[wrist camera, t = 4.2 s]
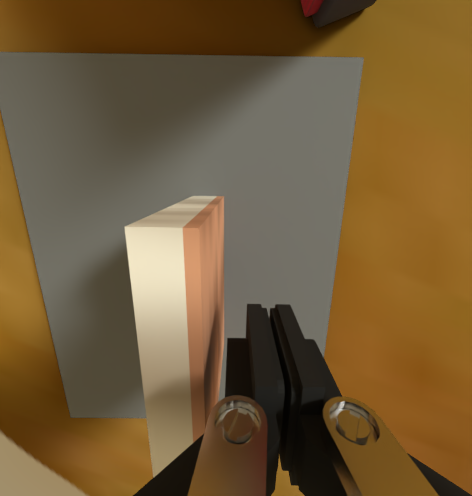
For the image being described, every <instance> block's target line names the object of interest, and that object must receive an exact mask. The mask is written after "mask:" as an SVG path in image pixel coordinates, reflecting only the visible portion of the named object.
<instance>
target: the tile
mask: <svg viewBox="0 0 472 496" xmlns="http://www.w3.org/2000/svg"><path fill="white" fill-rule="evenodd" d="M125 236H126V245H127V253H128V262H129V271H130V279H131V288H132V296H133V305H134V314H135V322H136V331H137V340H138V348H139V357H140V366H141V374H142V383H143V391H144V400H145V409H146V417H147V426H148V435H149V443H150V452H151V460H152V469H153V478H154V477H155V476H156V475H157V474H158V473H160V472H161V471H162V470H163V469H164V468H165V467H166V466H168V465H169V464H170V463H171V462H172V461H173V460H174V459H175V458H177V457H178V456H179V455H180V454H181V453H182V452H183V451H185V450H186V449H187V448H188V447H189V446H190V445H191V444H192V443H194V442H195V441H196V440H197V439H198V438H199V437H200V436H202V435H203V434H204V433H205V429H206V425H207V421H208V418H209V415H210V413H211V410H212V408H213V407H214V406H215V405H216V404H217V402H218V399H219V389H220V379H221V369H222V359H223V349H224V196H192V197H189V198H187V199H185V200H183V201H181V202H178V203H176V204H174V205H172V206H169V207H167V208H165V209H163V210H161V211H158V212H156V213H154V214H152V215H150V216H147V217H145V218H143V219H141V220H138V221H136V222H134V223H132V224H130V225H127V226H125Z"/></svg>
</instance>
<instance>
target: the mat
mask: <svg viewBox="0 0 472 496" xmlns="http://www.w3.org/2000/svg"><path fill="white" fill-rule="evenodd" d="M363 59H364V58H358V57H295V56H231V55H167V54H103V53H39V52H0V110H1V114H2V119H3V123H4V127H5V132H6V136H7V140H8V145H9V149H10V154H11V158H12V162H13V167H14V171H15V176H16V180H17V184H18V189H19V193H20V198H21V202H22V206H23V211H24V215H25V220H26V224H27V228H28V233H29V237H30V241H31V246H32V250H33V255H34V259H35V263H36V268H37V272H38V277H39V281H40V285H41V290H42V294H43V299H44V303H45V307H46V312H47V316H48V321H49V325H50V329H51V334H52V338H53V342H54V347H55V351H56V356H57V360H58V364H59V369H60V373H61V378H62V382H63V386H64V391H65V395H66V400H67V404H68V408H69V413H70V417H71V418H147V417H146V409H145V400H144V391H143V383H142V374H141V366H140V357H139V348H138V340H137V331H136V322H135V314H134V305H133V296H132V288H131V279H130V271H129V262H128V253H127V245H126V236H125V226H127V225H130V224H132V223H134V222H136V221H138V220H141V219H143V218H145V217H147V216H150V215H152V214H154V213H156V212H158V211H161V210H163V209H165V208H167V207H169V206H172V205H174V204H176V203H178V202H181V201H183V200H185V199H187V198H189V197H192V196H224V349H223V359H222V369H221V379H220V389H219V399H218V402H219V401H220V400H222V399H224V398H225V381H226V358H227V338H246V316H247V304H261V306H262V308H267V312H268V316H270V308H275V305H276V304H290V305H291V307H292V310H293V312H294V315H295V317H296V319H297V322H298V324H299V326H300V329H301V331H302V333H303V336H304V338H305V339H314V340H315V342H316V343H317V345H318V348H319V350H320V352H321V354H322V356H323V358H324V351H325V344H326V336H327V329H328V322H329V314H330V307H331V299H332V292H333V284H334V277H335V269H336V262H337V254H338V247H339V239H340V232H341V224H342V217H343V209H344V202H345V194H346V187H347V179H348V172H349V164H350V157H351V149H352V142H353V134H354V127H355V119H356V112H357V104H358V97H359V89H360V82H361V74H362V67H363Z"/></svg>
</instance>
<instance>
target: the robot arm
mask: <svg viewBox="0 0 472 496" xmlns="http://www.w3.org/2000/svg"><path fill="white" fill-rule="evenodd" d="M279 455H280V461H281V467H282V470H283V471H289V476H290V482H291V485H298V486H299V490H300V491H301V492H302V493H303V494H304V495H305V496H472V495H470V494H469V493H467V492H466V491H464V490H463V489H461V488H460V487H458V486H457V485H455V484H454V483H452V482H450V481H449V480H447V479H446V478H444V477H443V476H441V475H440V474H438V473H437V472H435V471H434V470H432V469H431V468H429V467H428V466H426V465H424V464H423V463H421V462H420V461H418V460H417V459H415V458H414V457H412V456H411V455H409V454H408V453H406V451H405V450H404V449H403V447H402V446H401V445H400V443H399V442H398V441H397V439H396V438H395V437H394V435H393V434H392V433H391V431H390V430H389V429H388V427H387V426H386V425H385V423H384V422H383V421H382V420H381V418H380V417H379V416H378V415H377V414H376V413H375V412H374V411H373V410H372V409H371V408H370V407H368V406H367V405H366V404H364V403H362V402H360V401H358V400H356V399H353V398H349V397H342V395H341V393H340V391H339V389H338V387H337V385H336V383H335V381H334V379H333V377H332V374H331V372H330V370H329V368H328V366H327V364H326V362H325V360H324V358H323V356H322V354H321V352H320V350H319V348H318V345H317V343H316V342H315V340H314V339H305V338H304V336H303V333H302V331H301V329H300V326H299V324H298V322H297V319H296V317H295V315H294V312H293V310H292V307H291V305H290V304H276V305H275V308H270V316H268V312H267V308H262V306H261V304H247V316H246V338H227V358H226V381H225V398H224V399H222V400H220V401H219V402H217V404H216V405H215V406H214V407H213V408H212V410H211V413H210V415H209V418H208V421H207V425H206V429H205V433H204V434H203V435H202V436H200V437H199V438H198V439H197V440H196V441H195V442H194V443H192V444H191V445H190V446H189V447H188V448H187V449H186V450H185V451H183V452H182V453H181V454H180V455H179V456H178V457H177V458H175V459H174V460H173V461H172V462H171V463H170V464H169V465H168V466H166V467H165V468H164V469H163V470H162V471H161V472H160V473H158V474H157V475H156V476H155V477H154V478H153V479H152V480H151V481H149V482H148V483H147V484H146V485H145V486H144V487H143V488H141V489H140V490H139V491H138V492H137V493H136V494H135V495H133V496H271V494H272V493H273V492H274V490H275V483H276V472H277V469H278V459H279Z"/></svg>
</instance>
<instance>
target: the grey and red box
mask: <svg viewBox="0 0 472 496" xmlns="http://www.w3.org/2000/svg"><path fill="white" fill-rule="evenodd" d="M375 1H376V0H301V4H302V8H303V12H304V15H305V17H308V16H310V15H312V17H313V21H314V24H315V26H316V27H318V28H319V27H322V26H324V25H327V24H329V23H332V22H334V21H336V20H339V19H341V18H344V17H346V16H348V15H351V14H353V13H356V12H358V11H360V10H363V9H365V8H367V7H369V6H371V5H373V4H374V3H375Z"/></svg>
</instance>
